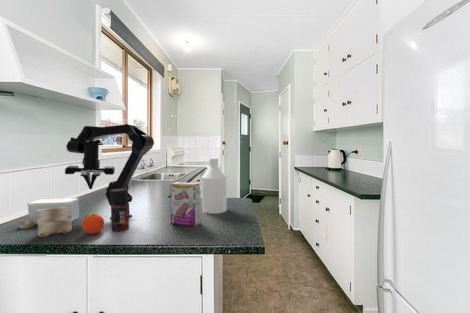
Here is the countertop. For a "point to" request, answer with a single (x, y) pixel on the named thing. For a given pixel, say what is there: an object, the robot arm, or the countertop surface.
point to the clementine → (92, 223)
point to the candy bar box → (185, 203)
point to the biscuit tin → (53, 204)
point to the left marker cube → (27, 223)
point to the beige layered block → (54, 220)
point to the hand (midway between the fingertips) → (90, 189)
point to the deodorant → (119, 210)
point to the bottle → (214, 189)
